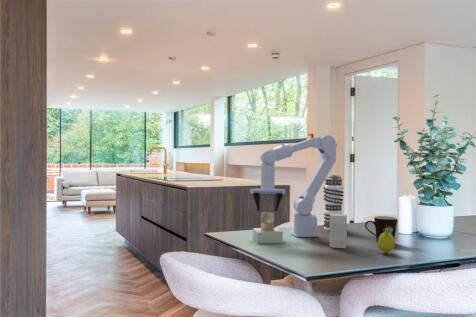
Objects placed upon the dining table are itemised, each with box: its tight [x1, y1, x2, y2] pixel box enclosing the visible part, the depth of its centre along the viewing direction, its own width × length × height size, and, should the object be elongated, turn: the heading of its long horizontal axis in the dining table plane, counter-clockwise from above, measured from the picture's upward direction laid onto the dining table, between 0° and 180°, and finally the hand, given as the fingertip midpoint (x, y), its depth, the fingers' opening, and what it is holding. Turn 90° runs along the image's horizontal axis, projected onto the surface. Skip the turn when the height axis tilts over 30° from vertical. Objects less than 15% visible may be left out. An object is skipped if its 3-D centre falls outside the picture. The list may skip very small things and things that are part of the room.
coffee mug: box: [364, 215, 398, 244], centre depth 164 cm, size 12×9×10 cm
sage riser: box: [252, 227, 284, 244], centre depth 167 cm, size 10×10×4 cm
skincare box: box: [329, 214, 348, 249], centre depth 156 cm, size 6×4×12 cm
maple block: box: [260, 211, 275, 231], centre depth 166 cm, size 4×4×7 cm
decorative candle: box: [322, 174, 344, 231], centre depth 195 cm, size 9×9×25 cm
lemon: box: [377, 225, 396, 255], centre depth 145 cm, size 7×6×10 cm
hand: (267, 210), depth 177 cm, fingers open, 7 cm apart
